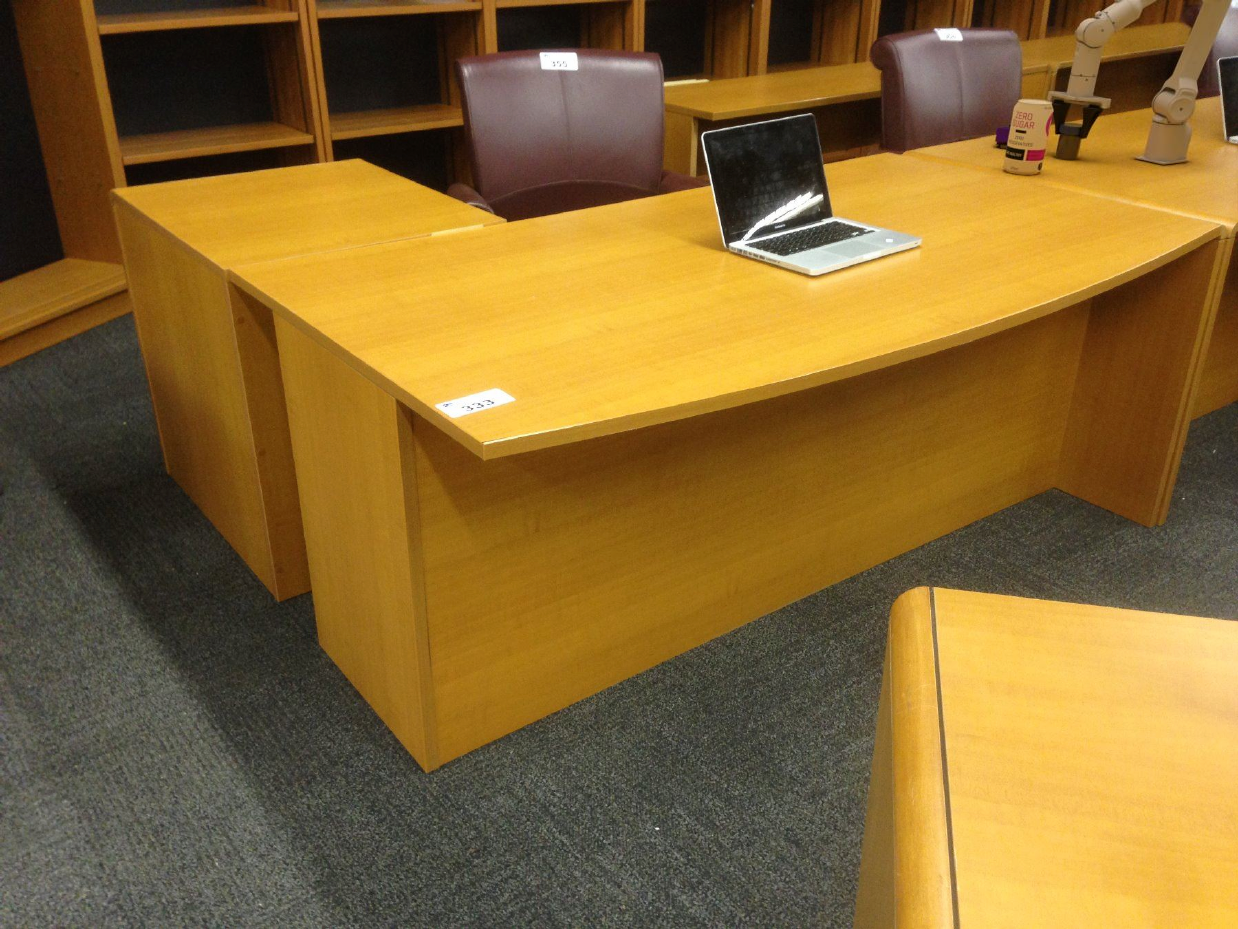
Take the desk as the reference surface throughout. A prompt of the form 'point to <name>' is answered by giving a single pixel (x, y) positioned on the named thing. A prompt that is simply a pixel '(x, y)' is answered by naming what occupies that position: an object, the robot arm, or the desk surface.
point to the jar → (1068, 146)
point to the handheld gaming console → (1002, 136)
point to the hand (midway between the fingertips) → (1070, 136)
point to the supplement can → (1028, 136)
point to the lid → (1070, 128)
